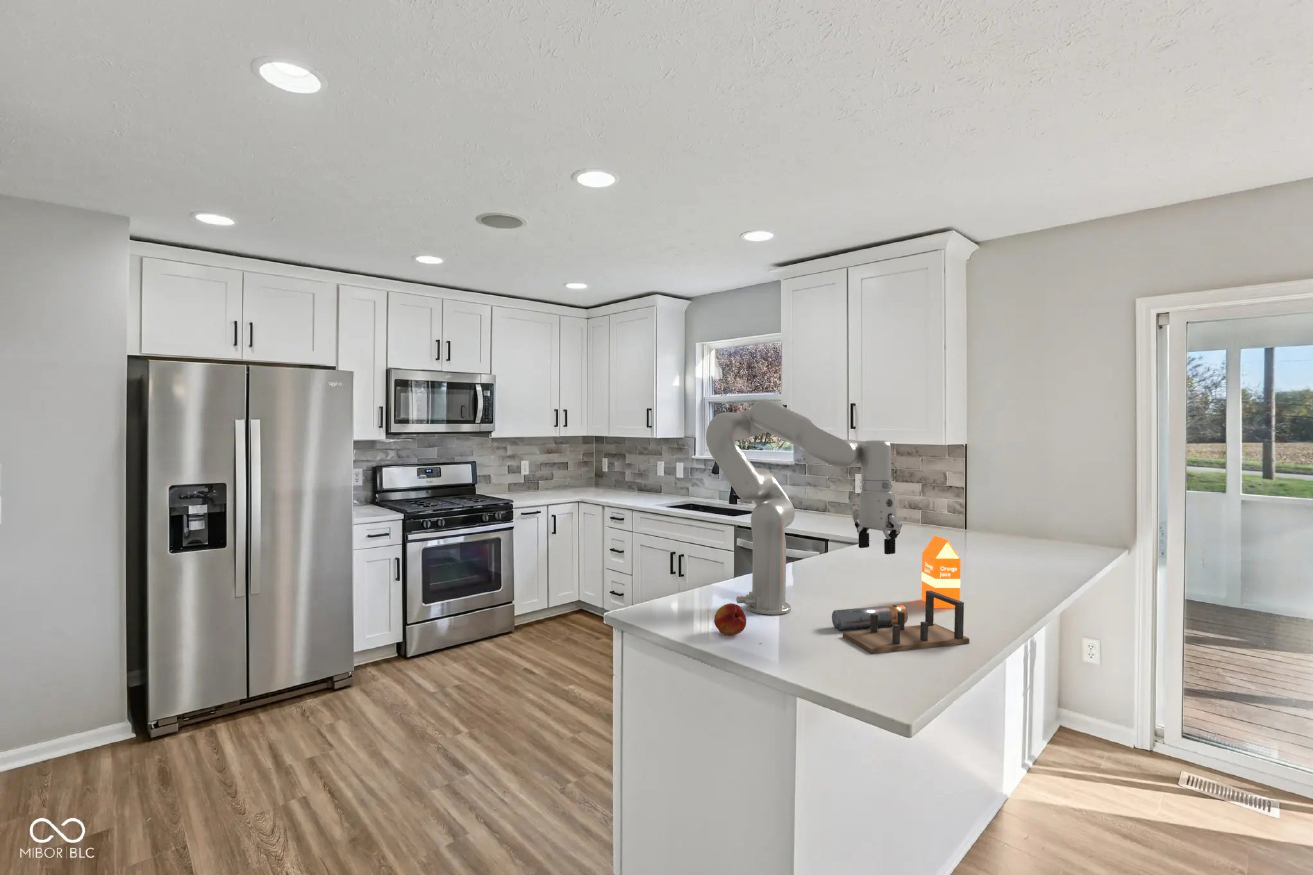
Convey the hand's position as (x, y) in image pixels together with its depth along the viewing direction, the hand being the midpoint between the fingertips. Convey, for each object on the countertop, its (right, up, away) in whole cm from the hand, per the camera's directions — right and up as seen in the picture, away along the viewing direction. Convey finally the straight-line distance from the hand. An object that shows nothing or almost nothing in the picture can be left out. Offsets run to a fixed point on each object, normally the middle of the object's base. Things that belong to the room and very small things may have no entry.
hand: (876, 550), depth 169 cm
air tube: (-2, -20, 0) cm, 20 cm away
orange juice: (+27, -20, +22) cm, 40 cm away
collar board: (+3, -20, -11) cm, 23 cm away
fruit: (-40, -20, -8) cm, 46 cm away
